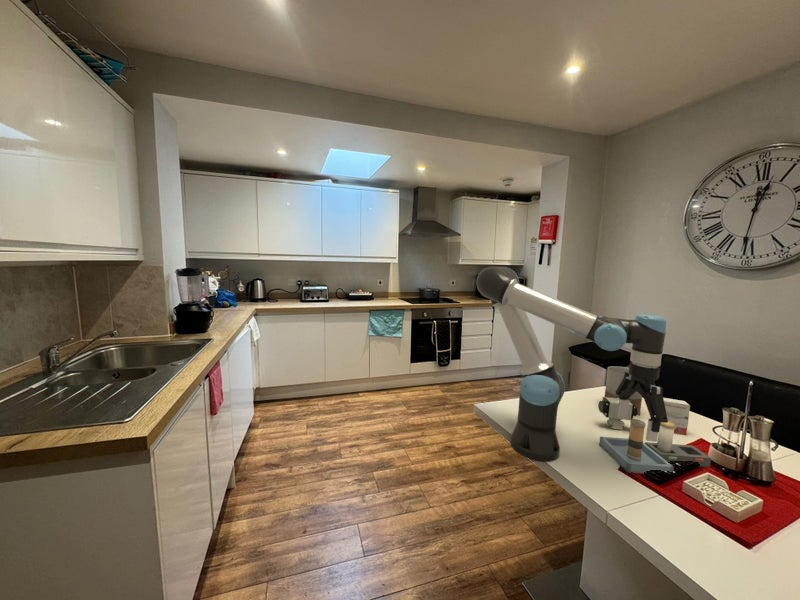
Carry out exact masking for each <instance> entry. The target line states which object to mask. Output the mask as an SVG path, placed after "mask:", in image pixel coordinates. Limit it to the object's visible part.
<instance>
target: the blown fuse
mask: <svg viewBox="0 0 800 600" xmlns="http://www.w3.org/2000/svg"><path fill="white" fill-rule="evenodd" d="M629 422H630V427H629V434H628V438H627V439H628V449H627V454H626V455H627V457H628V458H630V459H632V460H636V461H640V460H641V452H642V446H643V443H644V435H645V428H646V422H645V421H643V420H641V419H637V418H633V419H631V420H629Z"/></svg>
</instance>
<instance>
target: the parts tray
mask: <svg viewBox="0 0 800 600" xmlns="http://www.w3.org/2000/svg"><path fill="white" fill-rule="evenodd" d="M628 439H629V438H624V437H614V436H613V437H610V436H599V441H598V444H599V446H600V447H602V448H603V450H604V451H605V452H606V453H607V454H609V456H610V457H611V458H613V459H614V461H615V462H616V463H617V464H618V465H620V467H621V468H622V469H624V471H626V473H631V472H633V473H634V474H644V472H646V471H650V470H661V471H669V472H673V473H674V470H675V466H673V464H670V463H668V462H667V461H666V460H665V459H663V458H662V457H661V456H660V455H658V454H657V453H656V452H655V451H653V450H652V449H651V448H650V447H648V446H647V445H646V444H645V442H643V446H642V452H641V460H640V461H636V460H632V459H630V458H628V457H627V455H626V454H627V449H628ZM633 473H632V474H633Z"/></svg>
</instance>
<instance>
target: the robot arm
mask: <svg viewBox="0 0 800 600" xmlns="http://www.w3.org/2000/svg"><path fill="white" fill-rule="evenodd" d="M475 282H476V288H477V290H478V292H479V293H480V295H481V296H483V297H484V298H487V299H489V300H490V302H491V304H492V306H493V307H494V308H496V309H498V311H499V313H500V316H501V318H502V321H503V322H504V324H505V328H506V330H507V333H508V334H509V336H510V339H511V342H512V344H513V346H514V349H515V351H516V353H517V356H518V358H519V360H520V362H521V363H520V364H521V365H522V367H523V369H522V371H521V376H522V379H521V382H520V386H519V399H518V413H517V422H516V424H515V426H514V428H513V430H512V433H511V435H510V441H509V442H510V447H511V448H512V449H513V450H514V451H515V452H516V453H517V454H519V455H521V456H523V457H524V458H527V459H530V460H533V461H537V462H552V461H555V460H557V459H559V457H560V452H561V451H560V450H561V449H560V444H559V443H560V442H559V439H558V435H557V432H556V427H557V426H556V425H557V416H558V409H559V405H560V403H561V400H562V398H563V397H564V395H565V391H566V390H565V389H566V387H565V385H566V384H565V382H564V379H563V377H562V375H561V374H560V373H558V371H557V370H556V367H555V366H554V363H553V362H550V361H548V360H547V357H546V356H545V353H544V351H543V349H542V347H541V344H540V342H539V339H538V337H537V335H536V333H535V331H534V328H533V326H532V323H531V321H530V319H529V317H528V315H527V313H529V314H531V315H533V316H536V317H538V318H540V319H542V320H544V321H546V322H549V323H551V324H552V325H556V326H558V327H560V328H561V329H565V330H567V331H569V332H570V333H573V334H576V335H578V336H580V337H582V338H585V339H586V340H588V341H591V342H592V343H595V344H596V345H597V346H598V347H599V348H600V349H602V350H605V351H608V352H613V351H618V350H620V349H621V348H623V347H624V346H625V344H632V345H631V351H630V357H629V358H630V359H629V360H630V362H629V367H628V368H629V372H625V374H624V378H623V380H622V382H621V383H620V385H619V387H618V389H617V390H616V395H618V396H619V399H620V401H619V411H618V418H619V419H622V420H624V419H627V417H628V410H629V403H630V401H629V400H626V399H630V397H631V396H632V395H633V394H634V393H635V392H638V393H639V394H641V396H642V399H644V402H645V406H646V408H647V411H648V414H649V417H650V418H648V420H647V427H646V433H645V441H646V442H655V443H657V441H658V434H659V430H660V424H661V422H664V423H667V422H668V419H667V414H666V409H665V404H664V399H663V398H664V396H663V395H664V388H663V386H656V384H655V381H658V380H659V378H660V372H661V368H660V367H661V365H662V356H663V350H664V345H665V339H666V333H667V332H666V330H667V329H666V328H667V319H666V318H665V317H663V316H660V315H655V314H654V315H653V314H645V313H643V314H641V313H639V314H637V315H636V316H635V318H634V319H627V318H617V317H610V316H609V317H608V316H600V315H599V316H598V315H596V314H593V313H591V312H589V311H586V310H584V309H582V308H579V307H578V306H577V307H576V306H574V305H571V304H570V303H567V302H564V301H562V300H560V299H557V298H555V297H552V296H550V295H548V294H545V293H543V292H540V291H538V290H536V289H533V288H531V287H528V286H526V285H524V284H521V283H520V280H519V277H518V275H517V273H516V272H515V271H514V270H513V269H511V268H510V267H506V266H488V267H485V268H484V269H482V270H481V271H480V272H479V273H478V275H477V277H476V281H475Z"/></svg>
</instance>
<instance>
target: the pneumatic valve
mask: <svg viewBox="0 0 800 600" xmlns="http://www.w3.org/2000/svg"><path fill="white" fill-rule="evenodd" d="M619 401H620V399H619V398H607V397H605V396H603V397H602V399H601V400H599V401H598V403H597V404H598V411H599V412H600V413H602V414H603V416H605V418H608V419H607V420H606V425H607V426H608V427H610V429H612V430H617V431H622V430H624V429H625V425H626V424H625V422H624V421H623V420H626V421H631V419H635V417H637V416H638V415H637V413H638V410H637V407H636V405H634V404H633V403H632V402H630V403H629V410H628V417H627V419H619V418H618V411H619Z"/></svg>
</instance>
